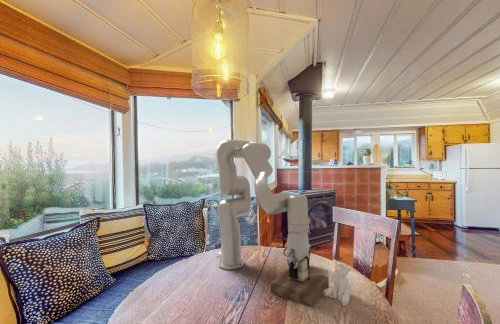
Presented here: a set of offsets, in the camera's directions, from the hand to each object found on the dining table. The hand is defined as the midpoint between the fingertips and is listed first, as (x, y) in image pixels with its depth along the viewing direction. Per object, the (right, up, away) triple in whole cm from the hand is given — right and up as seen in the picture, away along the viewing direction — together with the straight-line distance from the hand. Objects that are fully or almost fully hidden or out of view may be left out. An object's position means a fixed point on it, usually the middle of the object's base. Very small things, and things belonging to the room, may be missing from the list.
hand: (299, 273), depth 93 cm
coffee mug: (+4, -7, +21) cm, 22 cm away
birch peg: (0, -6, 0) cm, 6 cm away
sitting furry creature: (+13, -6, -5) cm, 16 cm away
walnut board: (0, -6, 0) cm, 6 cm away
